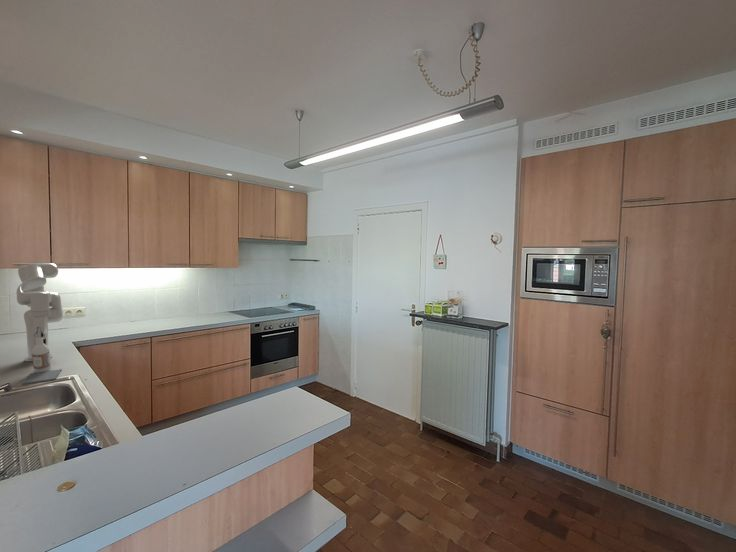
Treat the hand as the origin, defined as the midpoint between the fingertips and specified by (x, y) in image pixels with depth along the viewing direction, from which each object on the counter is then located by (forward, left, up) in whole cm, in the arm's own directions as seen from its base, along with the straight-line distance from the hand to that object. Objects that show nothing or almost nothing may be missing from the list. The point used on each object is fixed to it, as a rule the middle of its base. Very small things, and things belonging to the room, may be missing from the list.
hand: (41, 346), depth 188 cm
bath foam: (0, 0, -13) cm, 13 cm away
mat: (+13, +2, -14) cm, 19 cm away
